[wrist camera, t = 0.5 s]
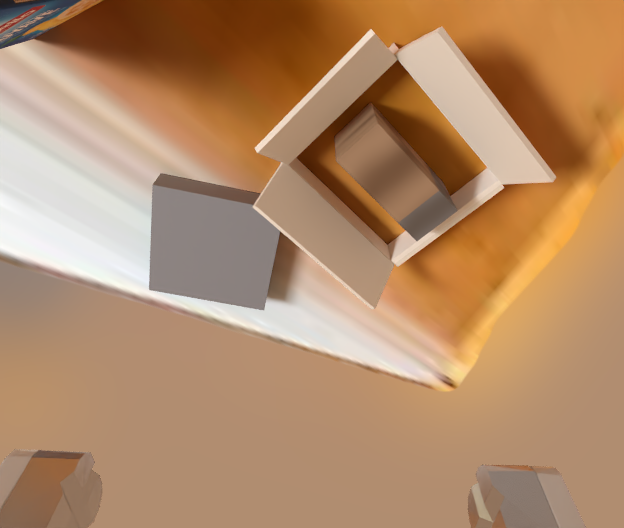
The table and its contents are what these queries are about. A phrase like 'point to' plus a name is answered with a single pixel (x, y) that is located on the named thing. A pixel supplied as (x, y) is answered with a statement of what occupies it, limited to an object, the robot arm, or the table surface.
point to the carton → (342, 220)
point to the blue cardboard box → (35, 17)
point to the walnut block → (393, 173)
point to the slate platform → (210, 243)
